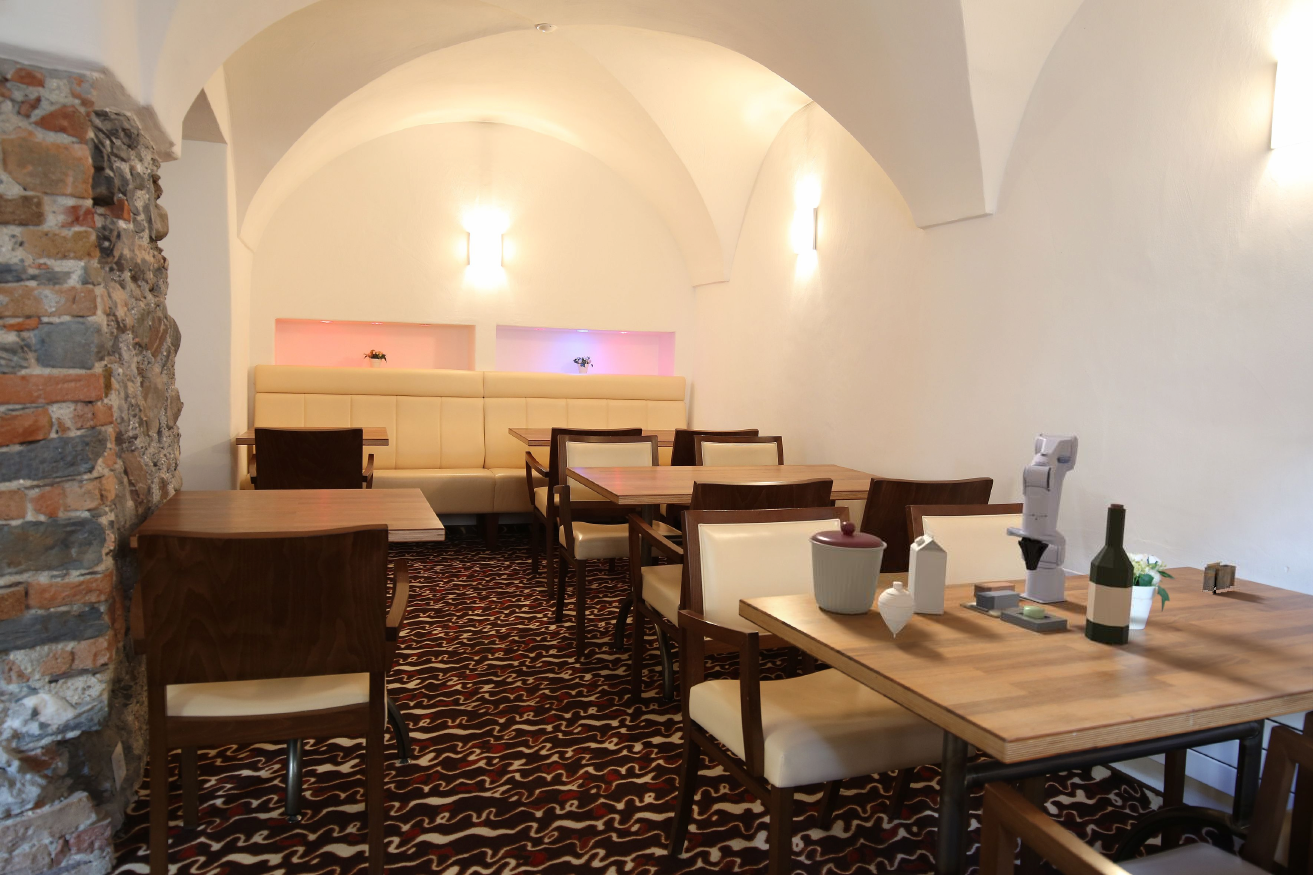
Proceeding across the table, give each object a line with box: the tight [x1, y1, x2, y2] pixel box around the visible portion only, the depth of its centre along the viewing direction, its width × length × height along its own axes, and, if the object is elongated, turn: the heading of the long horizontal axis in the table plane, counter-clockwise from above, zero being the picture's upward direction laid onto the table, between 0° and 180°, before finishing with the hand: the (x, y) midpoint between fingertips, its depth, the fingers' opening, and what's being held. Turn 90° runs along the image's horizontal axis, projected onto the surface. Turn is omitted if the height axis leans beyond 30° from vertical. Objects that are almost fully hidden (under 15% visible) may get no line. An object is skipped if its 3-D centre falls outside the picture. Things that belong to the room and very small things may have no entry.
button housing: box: [999, 609, 1068, 633], centre depth 189 cm, size 10×10×2 cm
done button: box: [1023, 605, 1046, 620], centre depth 189 cm, size 4×4×3 cm
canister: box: [808, 521, 888, 615], centre depth 194 cm, size 18×18×21 cm
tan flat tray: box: [959, 601, 1024, 619], centre depth 201 cm, size 14×11×1 cm
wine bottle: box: [1084, 503, 1135, 646], centre depth 178 cm, size 8×8×30 cm
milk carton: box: [907, 529, 948, 615], centre depth 196 cm, size 7×7×19 cm
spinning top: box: [877, 581, 915, 639], centre depth 173 cm, size 8×8×12 cm
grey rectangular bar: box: [975, 590, 1021, 610], centre depth 201 cm, size 11×3×3 cm, turn 116°
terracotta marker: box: [973, 581, 1016, 599], centre depth 213 cm, size 11×3×3 cm, turn 116°
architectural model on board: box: [1202, 561, 1237, 593], centre depth 230 cm, size 11×3×10 cm, turn 119°
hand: (1031, 569), depth 199 cm, fingers closed
